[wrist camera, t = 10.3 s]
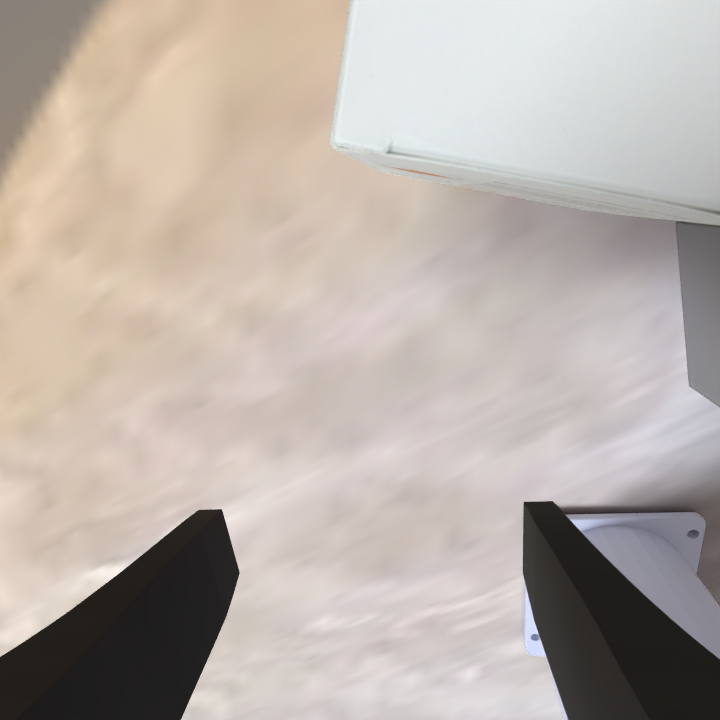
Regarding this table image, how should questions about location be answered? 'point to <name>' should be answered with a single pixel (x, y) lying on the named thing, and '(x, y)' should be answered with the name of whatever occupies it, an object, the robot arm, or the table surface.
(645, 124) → the small box
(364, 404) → the table surface
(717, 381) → the charcoal base block
